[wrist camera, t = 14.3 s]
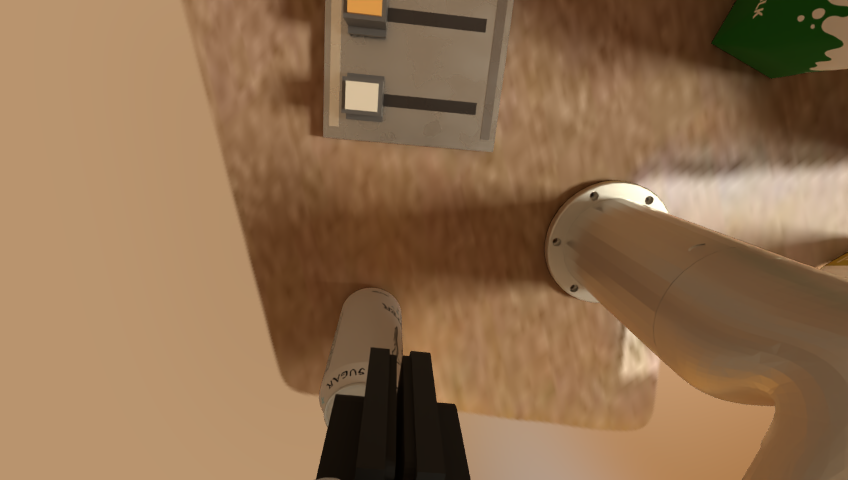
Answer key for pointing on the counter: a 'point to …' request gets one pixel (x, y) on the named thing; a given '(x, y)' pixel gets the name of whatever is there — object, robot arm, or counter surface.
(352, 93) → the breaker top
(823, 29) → the milk carton
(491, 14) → the panel
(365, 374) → the energy drink can
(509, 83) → the counter surface
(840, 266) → the juice carton
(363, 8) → the block
